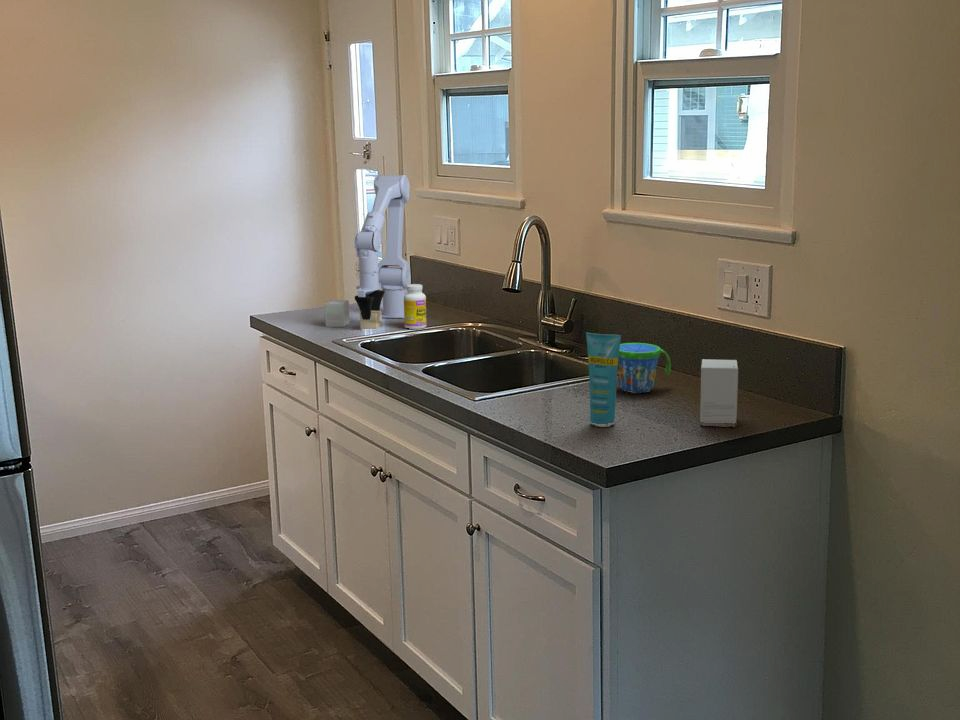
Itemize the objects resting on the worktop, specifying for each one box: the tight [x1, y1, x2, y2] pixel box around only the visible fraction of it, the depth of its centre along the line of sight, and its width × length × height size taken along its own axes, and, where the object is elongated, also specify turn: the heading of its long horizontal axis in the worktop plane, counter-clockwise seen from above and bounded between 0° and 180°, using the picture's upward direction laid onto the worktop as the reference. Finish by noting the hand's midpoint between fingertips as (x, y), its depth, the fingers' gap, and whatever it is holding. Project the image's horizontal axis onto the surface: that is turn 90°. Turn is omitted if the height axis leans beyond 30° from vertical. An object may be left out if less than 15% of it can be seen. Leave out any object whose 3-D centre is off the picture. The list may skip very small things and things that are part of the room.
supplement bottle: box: [403, 283, 428, 330], centre depth 313 cm, size 7×7×13 cm
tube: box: [585, 332, 622, 424], centre depth 214 cm, size 7×5×19 cm, turn 69°
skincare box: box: [323, 299, 351, 328], centre depth 320 cm, size 6×6×7 cm
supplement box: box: [699, 358, 739, 424], centre depth 215 cm, size 7×7×13 cm
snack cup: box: [617, 342, 672, 393], centre depth 240 cm, size 16×10×10 cm
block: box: [359, 310, 383, 330], centre depth 314 cm, size 5×5×5 cm
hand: (370, 317), depth 314 cm, fingers open, 7 cm apart
